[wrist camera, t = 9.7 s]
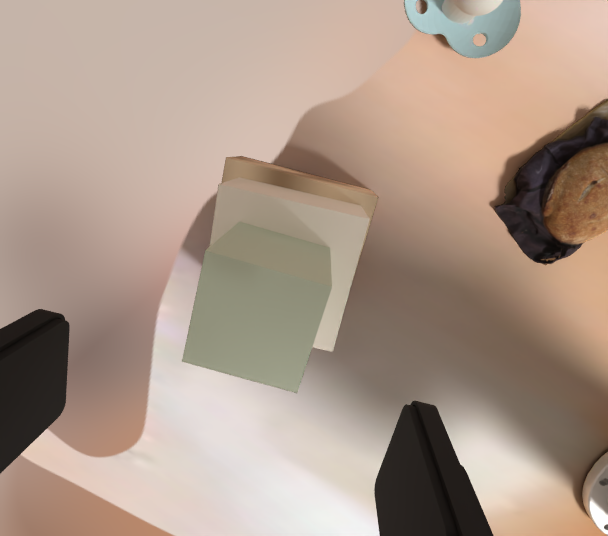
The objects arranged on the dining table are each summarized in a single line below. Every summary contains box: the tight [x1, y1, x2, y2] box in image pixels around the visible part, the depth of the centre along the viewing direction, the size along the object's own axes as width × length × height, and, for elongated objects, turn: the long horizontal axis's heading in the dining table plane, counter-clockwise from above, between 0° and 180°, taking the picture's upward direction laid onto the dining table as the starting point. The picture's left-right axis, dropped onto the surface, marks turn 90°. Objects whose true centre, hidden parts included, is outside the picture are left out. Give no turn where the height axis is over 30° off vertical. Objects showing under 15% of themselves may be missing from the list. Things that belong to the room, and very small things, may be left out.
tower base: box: [222, 156, 378, 285], centre depth 28 cm, size 10×10×5 cm
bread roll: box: [494, 100, 608, 265], centre depth 27 cm, size 11×8×4 cm
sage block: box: [182, 221, 332, 393], centre depth 18 cm, size 5×5×6 cm
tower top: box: [209, 177, 370, 352], centre depth 23 cm, size 8×8×5 cm
